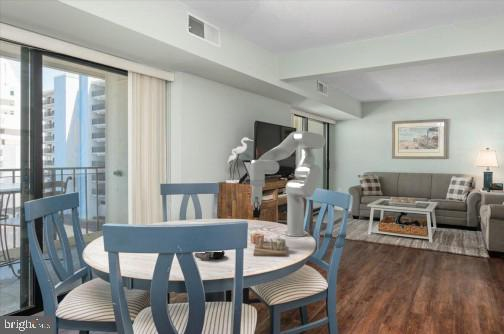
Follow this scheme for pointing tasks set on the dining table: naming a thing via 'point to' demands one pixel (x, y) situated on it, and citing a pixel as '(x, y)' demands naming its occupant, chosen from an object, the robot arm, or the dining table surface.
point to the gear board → (270, 248)
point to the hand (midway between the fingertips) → (256, 216)
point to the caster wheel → (209, 255)
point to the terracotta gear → (256, 238)
